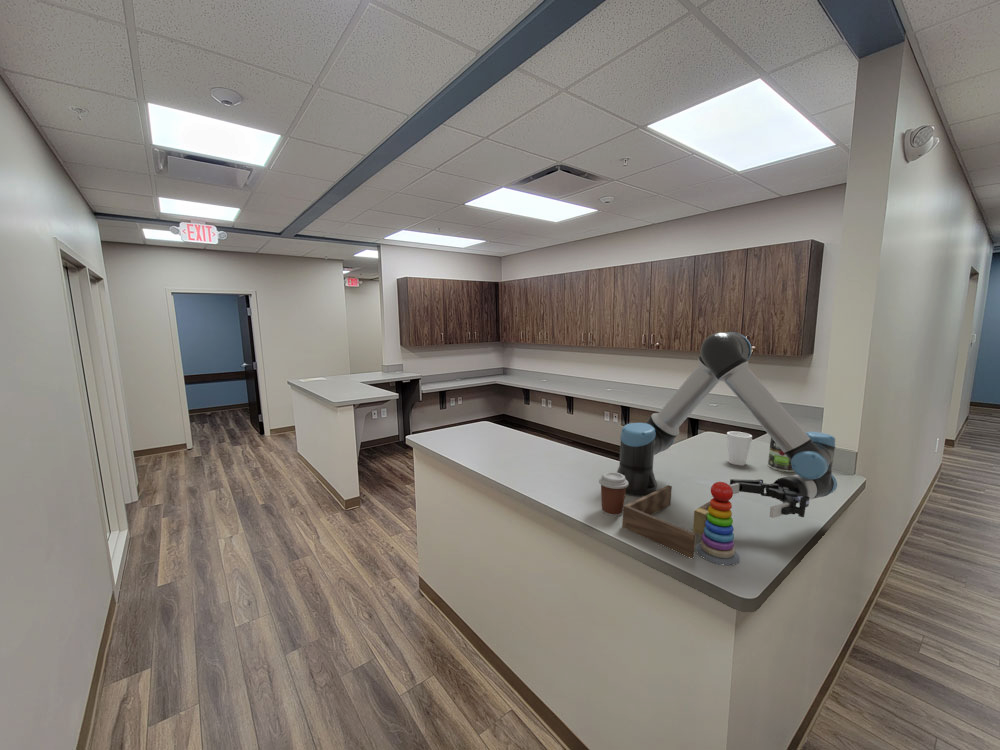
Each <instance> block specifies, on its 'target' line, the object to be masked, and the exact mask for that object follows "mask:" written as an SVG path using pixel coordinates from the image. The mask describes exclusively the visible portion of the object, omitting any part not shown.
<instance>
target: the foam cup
mask: <svg viewBox="0 0 1000 750" xmlns="http://www.w3.org/2000/svg"><path fill="white" fill-rule="evenodd" d="M752 439H753V435H752V434H750V433H747V432H741V431H727V432H726V441H727V454H728V455H727V457H728V463H730V464H732V465H735V466H745V465H746V463H747V459H748V455H749V451H750V448H751V444H752V442H753V440H752Z"/></svg>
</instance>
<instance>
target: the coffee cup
mask: <svg viewBox="0 0 1000 750" xmlns="http://www.w3.org/2000/svg"><path fill="white" fill-rule="evenodd" d="M598 483H599V484H600V492H601V493H600V494H601V495H600V497H601V512H602V513H603V514H604V515H605V516H606V515H607V516H610V517H620V516H623V506H624V504H625V498H626V494H625V491H626V487H628V485H629V483H628V481H627V480H626V479H625V476H624V475H622V474H620V473H617V471H616V472H615V471H606V472H603V474H602V475H601V476H600V477H599V478H598Z"/></svg>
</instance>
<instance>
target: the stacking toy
mask: <svg viewBox="0 0 1000 750" xmlns="http://www.w3.org/2000/svg"><path fill="white" fill-rule="evenodd" d="M729 485H730V484H728V483H727V482H724V481H716V482H714V483H713V484H712V485H711V487H710V493H711V496H712V497H713V498H711V499H710V500H709V501H710V505H711V506H709V507H708V512H709V513H708V514H707V520H706V522H705V525H706V527H705V528H704V533H703V535H701V542H700V543H701V547H702V549H703V550H704V551H705V552H706V553H708V554H710V555H712V556H715V557H720V558H729V557H732V556H733V555H734V554H735V552H736V549H735V547H734V546H735V543H734V542H735V541H734V538H735V534H734V530H735V529H734V525H733V523H734V520H733V518H732V516H733V512H732V510H731V509H732V507H733V505H732V502H730V500H731V499H732V498H733V495H734V494H733V490H732V488H731V487H730V486H729Z"/></svg>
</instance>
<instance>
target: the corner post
mask: <svg viewBox="0 0 1000 750" xmlns="http://www.w3.org/2000/svg"><path fill="white" fill-rule="evenodd" d="M693 512H694V513H693V514H694V515H693V522H692V523H693V524H692V525H693V526H692V532H693V533H695V534H696V535H697V534H698V535H700V536H702V535H703V533H704V528H705V522H706V514H708V513H709V512H708V511H707V510H705V509H702V508H700V507H698V508H696V509H694V511H693Z"/></svg>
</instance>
